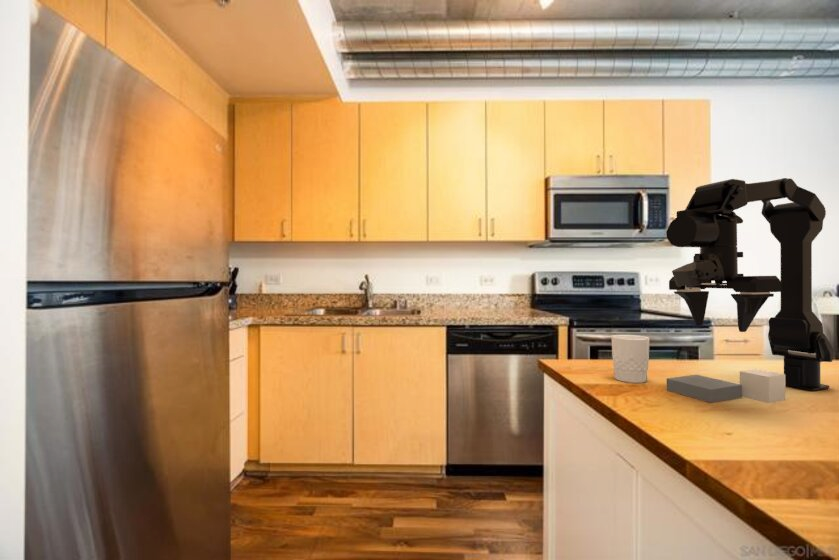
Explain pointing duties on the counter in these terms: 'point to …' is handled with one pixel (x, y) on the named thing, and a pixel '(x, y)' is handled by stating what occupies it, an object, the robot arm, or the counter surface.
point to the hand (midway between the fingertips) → (719, 328)
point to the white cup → (630, 357)
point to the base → (704, 388)
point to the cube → (763, 385)
